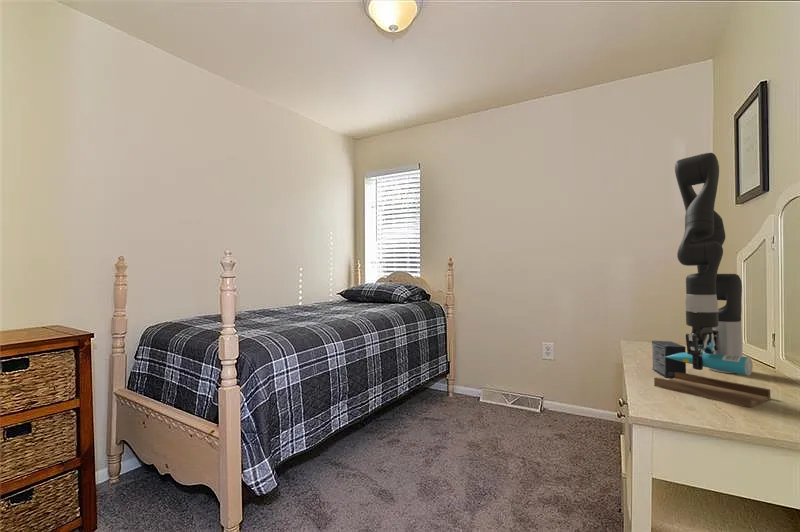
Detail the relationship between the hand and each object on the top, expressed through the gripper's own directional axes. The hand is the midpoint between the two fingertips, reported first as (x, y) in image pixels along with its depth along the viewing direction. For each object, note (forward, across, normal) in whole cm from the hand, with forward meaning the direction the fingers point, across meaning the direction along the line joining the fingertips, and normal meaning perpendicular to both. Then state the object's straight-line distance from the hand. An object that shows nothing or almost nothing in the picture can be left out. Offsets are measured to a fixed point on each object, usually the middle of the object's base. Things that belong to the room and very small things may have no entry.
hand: (703, 367), depth 115 cm
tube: (-2, 0, +11) cm, 11 cm away
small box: (+7, -11, -15) cm, 20 cm away
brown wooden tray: (+7, 0, +1) cm, 7 cm away
